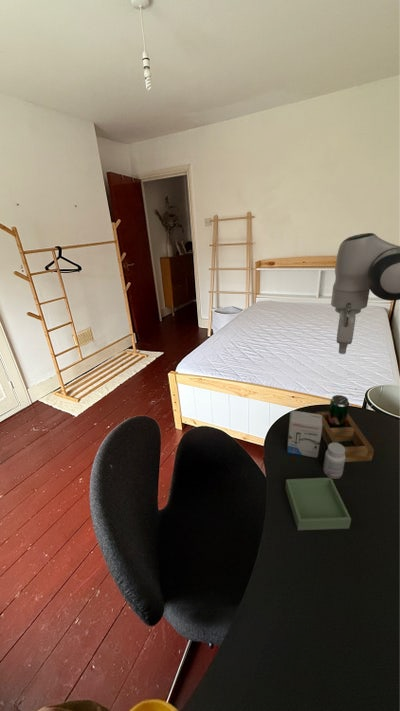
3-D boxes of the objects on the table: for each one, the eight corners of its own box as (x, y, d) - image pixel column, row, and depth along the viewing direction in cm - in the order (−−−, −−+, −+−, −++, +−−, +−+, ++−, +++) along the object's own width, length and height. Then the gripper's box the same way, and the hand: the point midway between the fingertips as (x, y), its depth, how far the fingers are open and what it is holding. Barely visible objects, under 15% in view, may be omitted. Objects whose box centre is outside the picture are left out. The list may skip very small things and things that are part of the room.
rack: (344, 420, 97) (345, 410, 96) (371, 460, 81) (374, 449, 80) (314, 421, 98) (315, 411, 96) (336, 462, 82) (338, 451, 80)
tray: (329, 486, 75) (331, 477, 74) (349, 528, 65) (351, 519, 64) (285, 487, 76) (285, 479, 74) (297, 530, 66) (298, 521, 64)
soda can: (322, 428, 95) (327, 396, 89) (335, 423, 96) (340, 392, 91) (334, 438, 90) (339, 405, 85) (347, 433, 92) (353, 401, 87)
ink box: (286, 452, 86) (289, 420, 81) (287, 441, 90) (290, 409, 85) (318, 458, 84) (322, 425, 78) (318, 446, 88) (322, 414, 83)
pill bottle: (346, 475, 78) (351, 451, 74) (332, 481, 76) (336, 457, 73) (332, 462, 82) (336, 439, 78) (319, 468, 80) (322, 444, 77)
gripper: (363, 311, 70) (354, 363, 76) (362, 290, 86) (355, 334, 92) (334, 309, 72) (328, 360, 78) (338, 289, 89) (332, 332, 95)
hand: (342, 346), depth 85 cm, fingers open, 8 cm apart
